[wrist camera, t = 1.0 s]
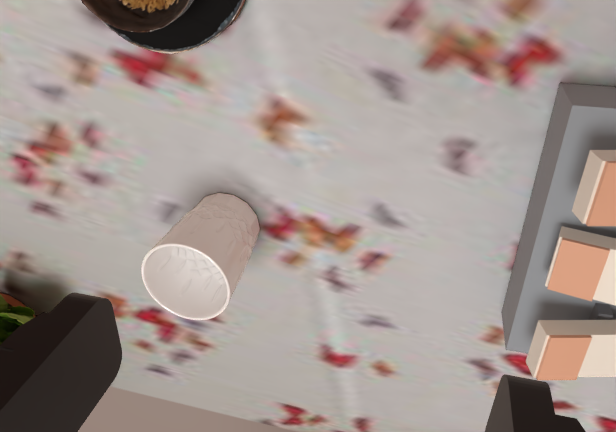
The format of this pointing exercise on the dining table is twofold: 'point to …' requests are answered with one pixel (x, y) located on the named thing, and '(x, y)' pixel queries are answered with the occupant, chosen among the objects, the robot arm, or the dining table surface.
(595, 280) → the rocker
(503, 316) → the switch unit
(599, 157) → the block
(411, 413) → the dining table surface
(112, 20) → the soup bowl
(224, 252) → the white cup
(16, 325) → the potted flower
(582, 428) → the robot arm
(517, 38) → the dining table surface
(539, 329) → the rocker
